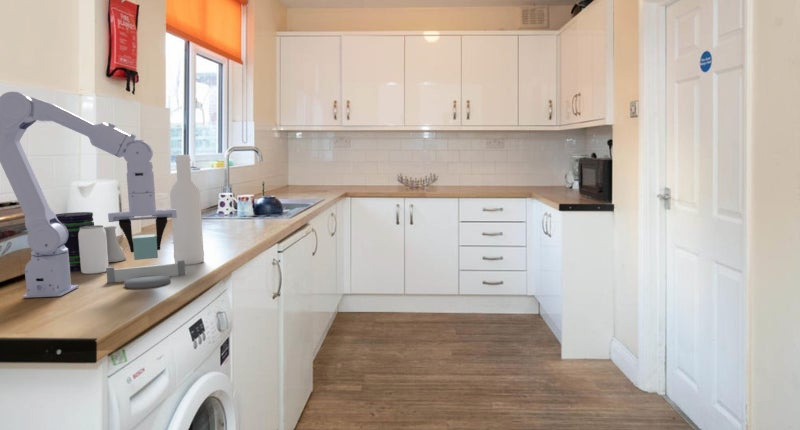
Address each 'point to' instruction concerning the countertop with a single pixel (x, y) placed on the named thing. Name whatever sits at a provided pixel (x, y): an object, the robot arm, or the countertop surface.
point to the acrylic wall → (145, 271)
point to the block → (145, 246)
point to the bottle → (186, 215)
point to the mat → (147, 282)
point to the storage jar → (74, 234)
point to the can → (93, 249)
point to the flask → (113, 245)
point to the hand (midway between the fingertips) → (145, 250)
